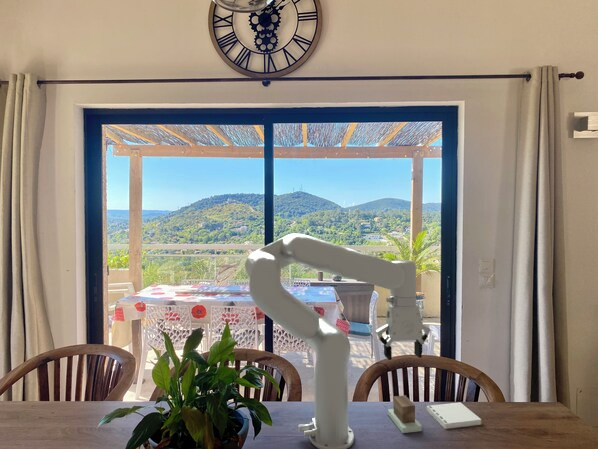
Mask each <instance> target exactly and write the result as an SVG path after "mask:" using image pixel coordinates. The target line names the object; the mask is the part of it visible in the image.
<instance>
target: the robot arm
mask: <svg viewBox="0 0 598 449" xmlns="http://www.w3.org/2000/svg"><path fill="white" fill-rule="evenodd" d="M292 264H296V265H299V266H301V267H305V268H309V269H314V270H317V271H320V272H324V273H326V274H330V275H333V276H337V277H340V278H344V279H350V280H355V281H358V282H362V283H367V284H369V285H373V286H376V287H380V288H383V289H386V290H390V294H389V296H388V297H386V299H385V302H387V303H389V304H388V306H387V309H386V316H385V325H383V326H381V327H379V328H378V329H376V330H375V333H376V337H377V338H378V340H379V341H380V342H381V343H382V344H383V355H384V356H385V358H386V359H388V361H391V360H392V357H393V355H392V354H393V353H392V352H393V351H392V350H393V349H392V346H391V345H392V343H393V342H404V341H405V342H406V341H414V343H413V345H414V347H413V349H414V350H413V352H414V356H416V357H418V358H419V359H421V358H422V355H423V345H424V344H425V341H426V340H427V339H428V337H429V334H430V332H431V329H430V327H427V326H425V325H424V324H423V322H422V315H421V310H420V306H419V305H417V265H416V263H415V262H414V261H413V260H408V259H396V260H395V259H394V260H386V259H383V258H379V257H376V256H373V255H371V254H366V253H363V252H360V251H357V250H355V249H352V248H349V247H347V246H343V245H339V244H336V243H333V242H330V241H328V240H324V239H320V238H317V237H314V236H311V235H308V234H303V233H289V234H287V235H285V236H283V237H281V238H279V239H277V240H275V241H273V242H271V243H268V244H267V245H265V246H262V247H260V248H259V249H257V250H254V251H253V252H251V253H250V254H249V255H248V256H247V258H246V261H245V264H244V265H245V266H244V267H245V271H246V274H247V275H248V276H249V294H250V297H251V299H252V302H253V304H254V305H255V307H256V308H257V309H258V310H259V311H261V312H262V313H263V314H264V315H266V316H267V317H268V318H269V319H271V320H272V321H273V322H274V323H276V324H277V325H279V326H280V327H282V329H283V330H285V331H286V332H287V333H288V334H289V335H290V336H292V337H294V338H296V339H297V340H301V341H302V342H304V343H305V344H307V345H308V346H309V347H310V348H311V349H312V350H313V351H314V352H315V356H316V361H315V366H314V371H313V372H314V373H313V383H314V384H313V387H314V388H313V389H314V393H313V396H314V417H312V418H311V421H310V422H308V423H302V424H301V423H300V424H298V425H297V428H298V429H297V430H298V433H303V435H304V437H309V441H310V443H311V444H312V445H313V446H314V447H316V448H317V449H348V448H350V447H351V446H352V445H353V443H354V442H355V436H354V435H355V434H354V432H353V429H352V428H350V427H349V378H348V377H349V376H348V374H349V362H350V356H351V343H350V340H349V338H348V336H347V334H346V333H345V332H344V331H343V330H342V329H340V327H338V326H336V325H335V324H334V323H332V322H331V321H330V320H328V319H327V318H325V317H324V316H322V315H321V314H320V313H319V312H317V311H316V310H315V309H313V308H312V307H311V306H310V305H309V304H307V303H306V302H305V301H303V300H302V299H298V298H297V297H296V296H294V295H293V294H292V293H291V292H289V291H288V290H287V289H286V288H284V287H283V285H282V281H281V277H282V270H283V269H285V268H286V267H288V266H290V265H292ZM384 333H385V337H384V336H383V334H384Z"/></svg>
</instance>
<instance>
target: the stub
mask: <svg viewBox="0 0 598 449" xmlns="http://www.w3.org/2000/svg"><path fill="white" fill-rule="evenodd" d="M392 399H393V401H392V402H393V408H388V409H387V415H388V416H389V418H390V419H391V420H392V421H393V422H394V424H395V426H396V427H397V428H398V429H399V431H400V432H401V433H402V434H407V433H417V432H422V429H423V425H421V423H420V422H419V421H418V420H417V419H416V405H415V404H414V403H413V402H412V400H410V399H409V397H407V395H406V394H405V395H395V396H394V395H393V397H392Z"/></svg>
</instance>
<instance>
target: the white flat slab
mask: <svg viewBox="0 0 598 449" xmlns="http://www.w3.org/2000/svg"><path fill="white" fill-rule="evenodd" d="M426 411H427V412H428V414H430V415H431V417H433V419H435V421H436V422H438V424H440V426H442V428H444V429H445V430H447V429H455V428H463V427H473V426H481V425H482V419H481V418H480V417H479V416H478V415H476V414H475V413H474V412H473V411H472V410H470V409H469V408H468V407H467V406H465V405H464V404H463V403H462V402H451V403H443V404H431V405H427V406H426Z"/></svg>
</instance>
